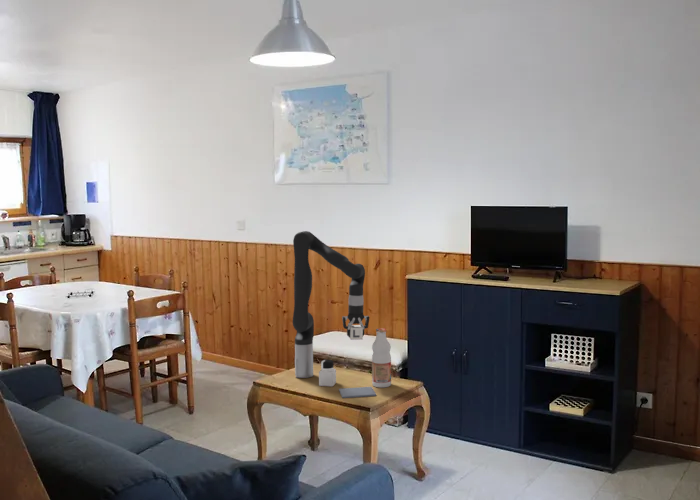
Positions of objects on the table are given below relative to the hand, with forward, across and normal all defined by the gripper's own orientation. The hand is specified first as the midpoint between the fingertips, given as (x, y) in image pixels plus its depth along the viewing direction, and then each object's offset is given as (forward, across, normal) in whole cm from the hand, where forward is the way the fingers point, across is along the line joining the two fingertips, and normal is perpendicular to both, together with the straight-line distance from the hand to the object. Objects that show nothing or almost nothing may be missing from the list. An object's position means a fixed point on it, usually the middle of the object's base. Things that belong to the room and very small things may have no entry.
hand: (355, 336), depth 327 cm
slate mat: (+22, +3, +21) cm, 31 cm away
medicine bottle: (+23, +14, +4) cm, 27 cm away
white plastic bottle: (+22, -11, +12) cm, 27 cm away
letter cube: (+1, 0, 0) cm, 1 cm away
